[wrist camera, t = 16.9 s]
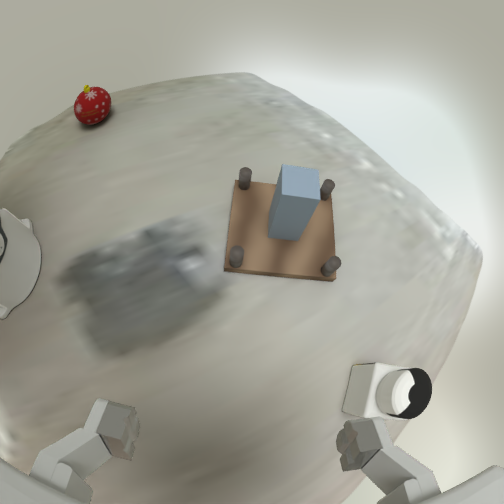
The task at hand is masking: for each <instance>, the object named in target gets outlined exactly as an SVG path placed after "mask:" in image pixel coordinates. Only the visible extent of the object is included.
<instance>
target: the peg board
mask: <svg viewBox="0 0 504 504" xmlns="http://www.w3.org/2000/svg"><path fill="white" fill-rule="evenodd" d="M251 174H252V171H251V169H249V168H247V167H244V168H242V169H240V174H239V180H235V186H234V193H233V201H232V208H231V216H230V224H229V232H228V240H227V249H226V257H225V266H224V271H227V272H237V273H246V274H256V275H267V276H277V277H288V278H299V279H310V280H321V281H334V280H335V279H336V270H337V269H338V268H339V267H340V266H341V260H340V258H339V257H337V256H335V239H334V223H333V210H332V198H331V192H332V190H333V189H334V187H335V183H334V182H333V181H332V180H330V179H326V180H325V181H324V183H323V185H322V187H321V189H320V199H321V200H320V202H319V204H318V205H317V207H316V209H315V211H314V213H313V215H312V217H311V218H310V220H309V222H308V224H307V226H306V227H305V229H304V231H303V233H302V235H301V237H300V238H299V240H298V241H293V240H284V239H275V238H268V222H269V210H270V206H271V203H272V199H273V196H274V192H275V188H276V184H268V183H260V182H251Z"/></svg>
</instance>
